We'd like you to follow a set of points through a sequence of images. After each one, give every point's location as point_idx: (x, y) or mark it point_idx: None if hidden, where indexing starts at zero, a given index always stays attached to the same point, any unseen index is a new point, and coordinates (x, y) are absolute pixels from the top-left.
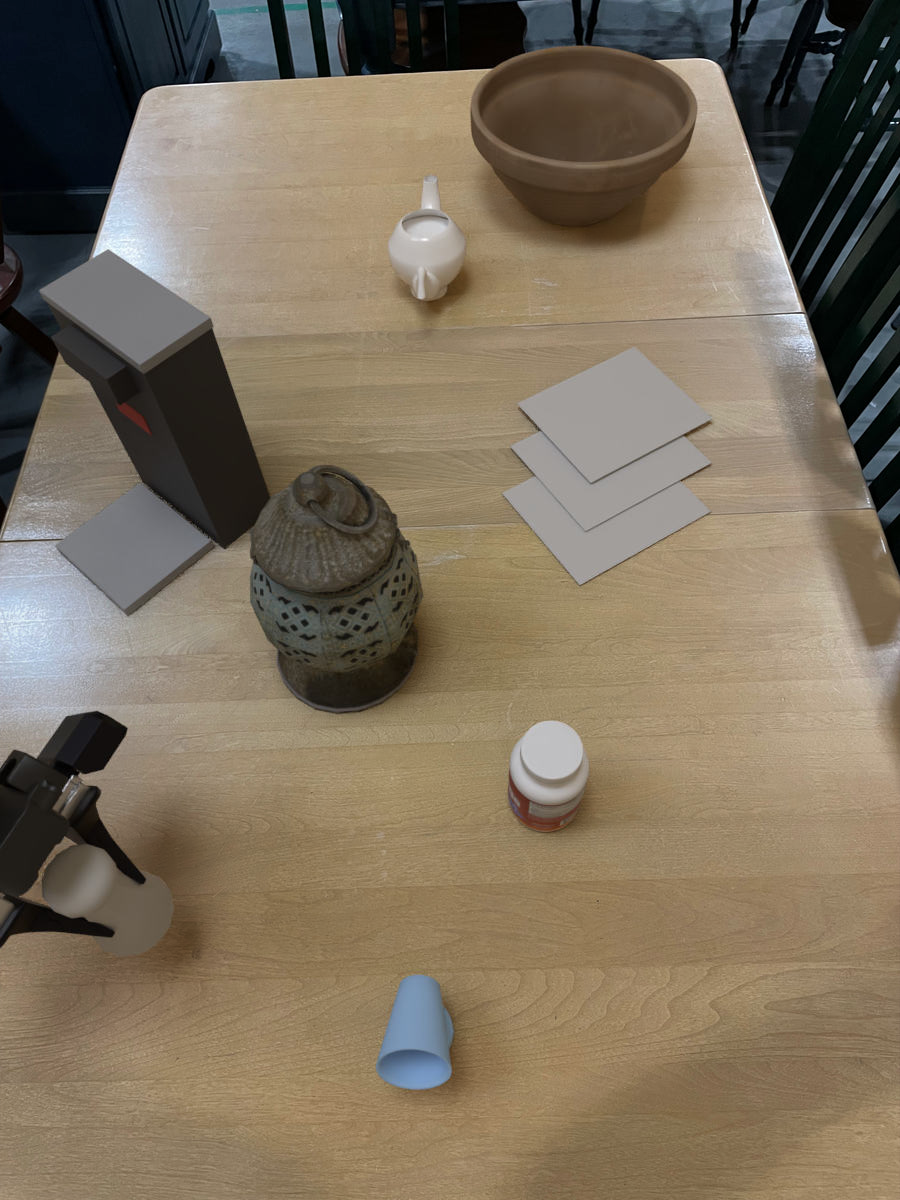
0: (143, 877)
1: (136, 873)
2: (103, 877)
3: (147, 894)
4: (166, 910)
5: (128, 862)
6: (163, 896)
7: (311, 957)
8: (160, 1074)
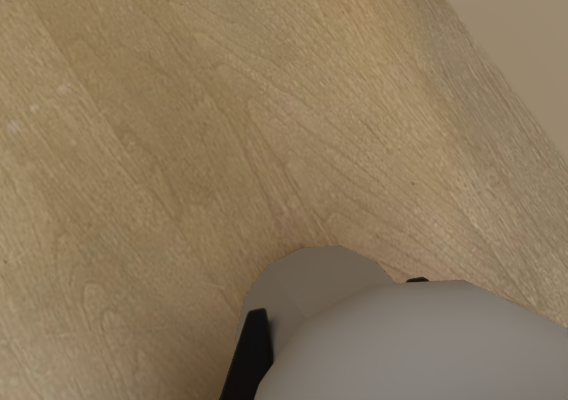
0: (249, 318)
1: (250, 338)
2: (363, 345)
3: (279, 292)
4: (280, 264)
5: (235, 379)
6: (261, 286)
7: (214, 110)
8: (440, 190)
